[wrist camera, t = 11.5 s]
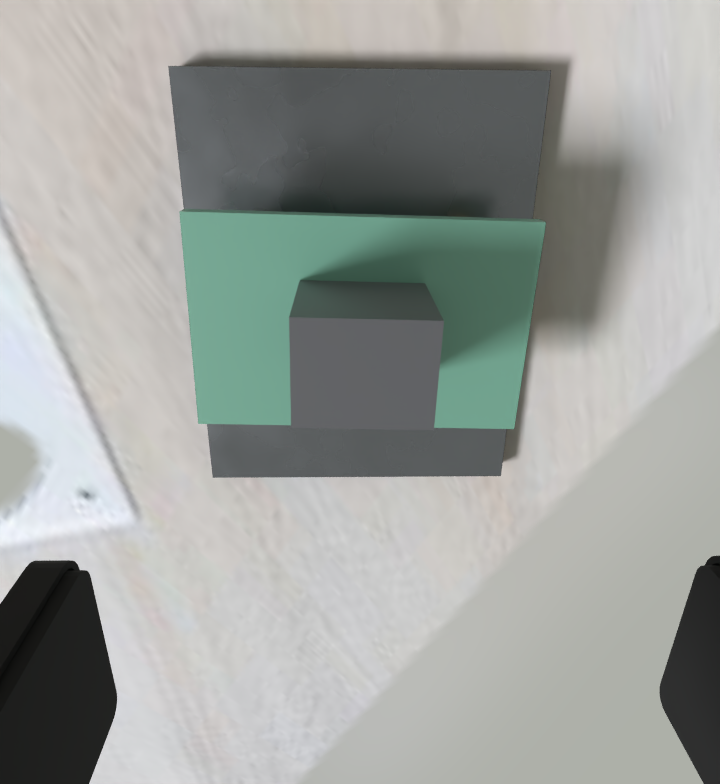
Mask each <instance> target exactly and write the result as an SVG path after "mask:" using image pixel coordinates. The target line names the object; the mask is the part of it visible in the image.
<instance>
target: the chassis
mask: <svg viewBox="0 0 720 784" xmlns="http://www.w3.org/2000/svg"><path fill="white" fill-rule="evenodd" d="M168 67H169V76H170V85H171V95H172V104H173V113H174V122H175V131H176V141H177V150H178V159H179V168H180V178H181V187H182V196H183V205H184V209H210V210H244V211H278V212H312V213H346V214H380V215H414V216H448V217H482V218H516V219H533V212H534V204H535V196H536V188H537V179H538V171H539V163H540V155H541V147H542V139H543V131H544V123H545V115H546V107H547V99H548V91H549V83H550V74H551V71H536V70H454V69H371V68H289V67H206V66H168ZM207 427H208V436H209V446H210V455H211V464H212V473H213V478H215V477H403V476H501V470H502V462H503V454H504V446H505V438H506V430H507V429H479V428H434V430H386V429H326V428H291V425H244V424H207Z"/></svg>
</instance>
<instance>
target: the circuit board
mask: <svg viewBox="0 0 720 784" xmlns="http://www.w3.org/2000/svg"><path fill="white" fill-rule="evenodd" d="M180 223H181V234H182V245H183V256H184V267H185V279H186V290H187V301H188V312H189V323H190V335H191V346H192V357H193V368H194V379H195V391H196V402H197V413H198V424H244V425H291V428H326V429H386V430H434V428H479V429H514V426H515V420H516V413H517V407H518V400H519V394H520V387H521V381H522V374H523V368H524V362H525V355H526V349H527V342H528V336H529V329H530V323H531V316H532V310H533V304H534V297H535V291H536V284H537V278H538V271H539V265H540V258H541V252H542V245H543V239H544V233H545V226H546V222H545V221H543V220H540V219H516V218H482V217H448V216H414V215H380V214H346V213H312V212H278V211H244V210H210V209H183V210H181V211H180Z"/></svg>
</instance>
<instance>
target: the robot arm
mask: <svg viewBox="0 0 720 784" xmlns="http://www.w3.org/2000/svg"><path fill="white" fill-rule="evenodd" d="M660 699H661V703H662V706H663V709H664V711H665V713H666V715H667V717H668V719H669V720H670V722H671V724H672V726H673V728H674V729H675V731H676V733H677V735H678V737H679V739H680V741H681V742H682V744H683V746H684V748H685V750H686V752H687V754H688V755H689V757H690V759H691V761H692V763H693V765H694V766H695V768H696V770H697V772H698V774H699V776H700V778H701V779H702V781H703V783H704V784H720V556H713V557H711V558H709V559H708V560H707V562H706V564H705V566H700V567H699V568H698V569H697V572H696V574H695V577H694V580H693V583H692V587H691V590H690V593H689V596H688V599H687V602H686V605H685V608H684V612H683V615H682V618H681V621H680V624H679V627H678V630H677V633H676V637H675V640H674V643H673V647H672V649H671V652H670V655H669V659H668V662H667V665H666V668H665V671H664V674H663V678H662V681H661V684H660ZM116 705H117V693H116V688H115V683H114V679H113V674H112V670H111V665H110V661H109V657H108V652H107V648H106V643H105V639H104V634H103V630H102V626H101V621H100V617H99V612H98V608H97V603H96V599H95V595H94V590H93V586H92V581H91V577H90V574H89V573H88V571H85V570H79V567H78V564H77V563H76V562H75V561H33V562H31V563H30V564H29V565H28V566H27V567H26V568H25V570H24V571H23V573H22V574H21V575H20V577H19V578H18V580H17V581H16V582H15V584H14V585H13V587H12V588H11V590H10V591H9V592H8V594H7V595H6V597H5V598H4V600H3V601H2V602H1V604H0V784H89V782H90V780H91V777H92V774H93V772H94V769H95V767H96V764H97V761H98V759H99V756H100V753H101V751H102V748H103V745H104V743H105V740H106V738H107V735H108V732H109V730H110V727H111V724H112V722H113V719H114V716H115V711H116Z"/></svg>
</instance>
